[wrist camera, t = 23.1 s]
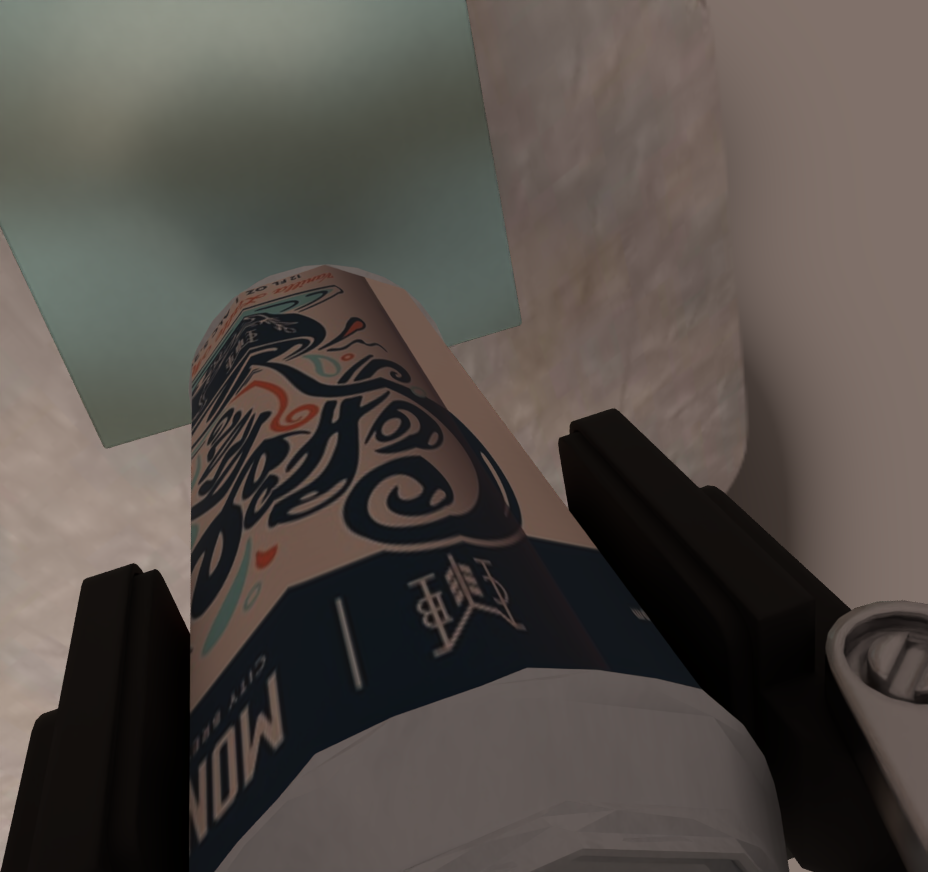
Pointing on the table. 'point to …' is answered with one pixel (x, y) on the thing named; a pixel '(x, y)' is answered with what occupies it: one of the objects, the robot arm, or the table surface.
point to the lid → (237, 174)
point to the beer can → (422, 626)
